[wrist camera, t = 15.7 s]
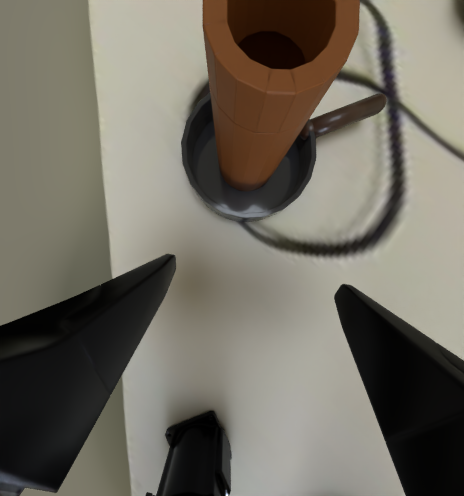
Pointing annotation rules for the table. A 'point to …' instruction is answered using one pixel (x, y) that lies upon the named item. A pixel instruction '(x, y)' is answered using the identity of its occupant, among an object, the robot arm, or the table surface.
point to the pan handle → (344, 116)
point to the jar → (270, 75)
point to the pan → (228, 198)
